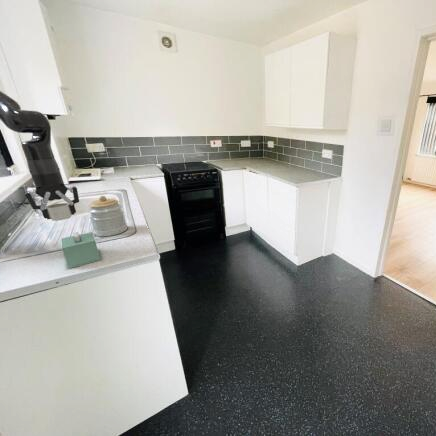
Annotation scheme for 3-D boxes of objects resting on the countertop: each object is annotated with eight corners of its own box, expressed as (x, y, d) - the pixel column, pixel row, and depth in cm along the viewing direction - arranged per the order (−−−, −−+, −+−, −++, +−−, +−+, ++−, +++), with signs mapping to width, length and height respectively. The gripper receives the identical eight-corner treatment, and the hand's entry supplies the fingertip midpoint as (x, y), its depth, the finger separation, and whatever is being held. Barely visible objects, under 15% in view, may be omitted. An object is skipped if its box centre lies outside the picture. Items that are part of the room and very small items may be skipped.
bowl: (49, 218, 92) (45, 205, 90) (71, 214, 96) (67, 202, 94) (51, 222, 88) (46, 209, 86) (73, 218, 92) (69, 205, 90)
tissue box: (69, 268, 86) (59, 242, 82) (68, 257, 93) (59, 233, 90) (100, 259, 91) (93, 235, 88) (97, 250, 99) (90, 227, 96)
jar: (119, 235, 112) (109, 198, 106) (88, 238, 111) (76, 200, 104) (132, 225, 124) (124, 192, 118) (104, 227, 123) (94, 193, 117)
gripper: (70, 168, 93) (83, 210, 99) (16, 173, 84) (34, 219, 89) (73, 170, 88) (86, 214, 94) (15, 175, 79) (34, 224, 84)
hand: (61, 216), depth 92 cm, fingers closed on bowl, 6 cm apart
